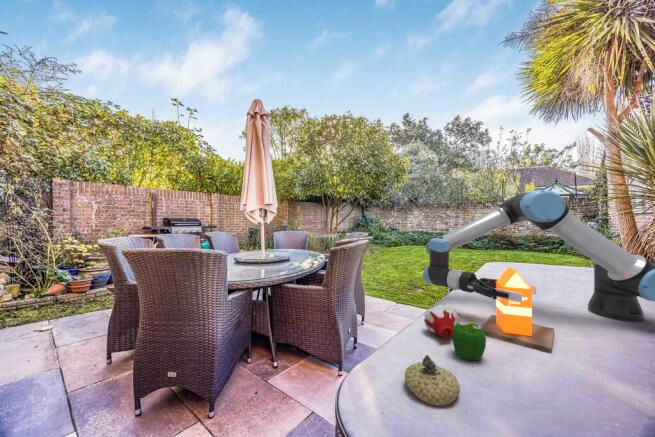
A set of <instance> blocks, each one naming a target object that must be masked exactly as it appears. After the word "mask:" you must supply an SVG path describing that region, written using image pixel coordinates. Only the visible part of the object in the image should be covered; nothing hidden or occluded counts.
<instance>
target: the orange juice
mask: <svg viewBox="0 0 655 437" xmlns="http://www.w3.org/2000/svg"><path fill="white" fill-rule="evenodd" d="M528 285H529V284H528V283H527V281H525V280H524V278H523V277H522V275H521V274H520V273H519V272H518V270H517V269H515V268H512V267H510V266H508V267H507V268H506V270H505V271H504V272H503V273H502V274H501V275H500V276H499V278H497V281H496V288H495V289H497V291H498V289H502V290H507V291H512V292H517V293H522V303H521V302H516V301H512V300H507V299H503V298H498V296H497V299H496V300H495V305H496V306H495V310H496V313H495V315H496V323H497V324H498V326H499V327H500V328H501V330H502V331H503V332H505V333H512V334H520V335H528V336H532V324H533V322H532V320H533V319H532V318H533V316H532V315H533V309H532V308H533V307H532V304H533V303H532V301H533V300H532V295H533V294H532V292H531V288H530V287H529V286H528Z"/></svg>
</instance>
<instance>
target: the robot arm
mask: <svg viewBox="0 0 655 437" xmlns="http://www.w3.org/2000/svg"><path fill="white" fill-rule="evenodd" d="M520 222H521V223H522V222H530V223H531V224H532V225H533V226H535V227H536V228H538V229H539V230H541V231H543V232H545V231H549V232H551V233H553V234H554V235H555V236H558V238H560V239H561V240H563V241H564V242H566V243H567V244H569V245H570V246H572V247H573V248H574V249H576V250H577V251H578V252H580V253H581V254H583V255H584V256H586V257H587V258H589V259H590V260H591V261H593V262H594V263H593V268H594V269H593V270H594V271H593V285H594V286H593V293H592V296H591V297H590V300H589V301H588V303H587V310H588V311H589V312H591V313H593V314H595V315H597V316H601V317H606V318H610V319H613V320H614V319H615V320H619V321H626V322H627V321H629V322H643V321H645V313H644V310H643V309H642V306H641V304H640V302H639V299H638V297H639V298H641V299H644V300H646V301H650V302H655V263H654V262H653V261H651V260H649V259H647V257H644V256H643V255H640V254H631V253H629V251H628V250H625V249H624V248H622V247H620V246H619V245H618V244H617V243H615V242H613V241H612V240H611V239H609V238H607V237H605V235H603V234H601V233H600V232H598V231H597V230H595V229H594V228H592V227H591V226H589V225H588V224H587V223H585V222H584V221H582V220H581V219H579V218H577V217H576V216H575V215H573V214H572V213H571V207H570V206H568V205H567V204H565V201H564V198H563V197H562V196H561V195H560V194H558V193H557V192H555V191H552V190H547V189H534V190H532V191H527V192H522V193H519V194H516V195H514V196H512V197H511V198H509V199H508V200H506V201H504V202H503V203H501V204H498V205H497V206H495V208H494V210H492V211H490V212H487V213H486V214H484V215H482V216H480V217H478V218H476V219H474V220H472V221H469V222H468V223H466V224H464V225H462V226H460V227H457V228H456V229H453V230H451V231H449V232H448V233H445V234H444V235H442V236H439V237H437V238H431V239H430V240H429V241H428V242H426V245H425V250H426V253H427V254H428V255H429V264H428V265H426V266H425V267H424V269H423V272H422V278H423V279H424V281H425V282H426V283H429V284H432V285H433V286H439V287H442V288H443V287H444V288H449V289H453V291H457V290H458V291H462V292H466V293H477V294H479V295H481V296H484V297H486V298H488V299H489V298H490V299H492V300H494V301H496V299H497V296H498V298H503V299H507V300H512V301H516V302H521V303H522V293H517V292H512V291H507V290H502V289H498V291H497V289H496V281H497V280H498V278H496V279H495V278H494V279H493V278H487V277H483V278H481V277H480V278H477V275H476V274H475V273H474V272H470V271H463V270H458V269H453V268H450V251H451V252H452V251H453V250H454V249H457V248H459V247H461V246H463V245H465V244H467V243H468V244H469V243H470V242H473V241H474V240H475V239H479V238H481V237H482V236H484V235H486V234H488V233H489V234H490V233H491V232H493V231H495V230H497V229H499V228H501V227H504V226H508V227H509V226H512V225H514V224H516V223H520ZM527 285H528V286H529V287H530V288H531V292H532V295H537V286H535V285H530V284H527Z"/></svg>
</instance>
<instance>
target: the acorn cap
mask: <svg viewBox="0 0 655 437" xmlns="http://www.w3.org/2000/svg"><path fill="white" fill-rule="evenodd" d="M404 382H405V384H406V386H407V387H408V389H409V390H410V391H411V392H412V393H413V394H414V395H415V397H417V398H418V399H419V400H421V401H422V402H425V403H426V404H428V405H430V406H431V405H432V406H435V407H436V406H437V407H442V406H446V405H449V404H451V403H453V402H454V401H455V400H456V399H457V397H458V396H459V394H460V392H461V386H460V384H459V380H458V378H457V377H456V376H455V375H454V374H453V373H452V372H451V371H450V370H448V369H445V368H443V367H442V366H439V365H436V363H435V361H434V360H433V359H432V358H431V357H430V356H429V355H428V354H427V355H425V356H424V358H423V359H422V361H421V362H420V361H419V362H417V363H414V364H411V365H409V366H408V367H407V368H406V369H405V373H404Z"/></svg>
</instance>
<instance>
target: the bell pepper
mask: <svg viewBox="0 0 655 437" xmlns="http://www.w3.org/2000/svg"><path fill="white" fill-rule="evenodd" d="M479 325H480V323H478V322H473V321H472V322H468V323H467V324H456V325H455V326H454V328H453V331H452V336H451V337H452V344H453V348H454V352H455V354H456V356H458V357H459V358H460V359H463V360H464V361H465V360H466V361H470V360H472V361H479V360H480V359H481V358H483V355H484V353H485V349H486V347H487V346H486V345H487V336H486V335H485V332H484V330H481V328H478V327H479Z"/></svg>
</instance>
